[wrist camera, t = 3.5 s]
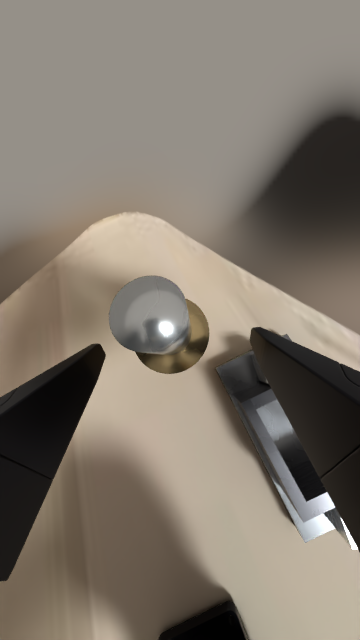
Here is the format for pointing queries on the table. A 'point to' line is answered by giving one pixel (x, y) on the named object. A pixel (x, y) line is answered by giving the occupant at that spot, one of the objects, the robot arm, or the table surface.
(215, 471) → the table surface
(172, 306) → the gold perfume bottle
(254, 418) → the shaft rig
